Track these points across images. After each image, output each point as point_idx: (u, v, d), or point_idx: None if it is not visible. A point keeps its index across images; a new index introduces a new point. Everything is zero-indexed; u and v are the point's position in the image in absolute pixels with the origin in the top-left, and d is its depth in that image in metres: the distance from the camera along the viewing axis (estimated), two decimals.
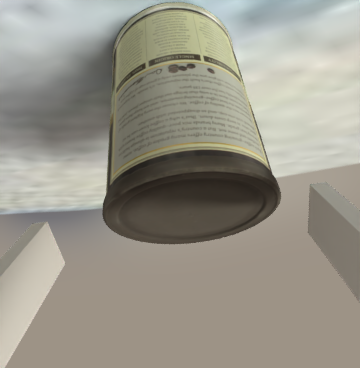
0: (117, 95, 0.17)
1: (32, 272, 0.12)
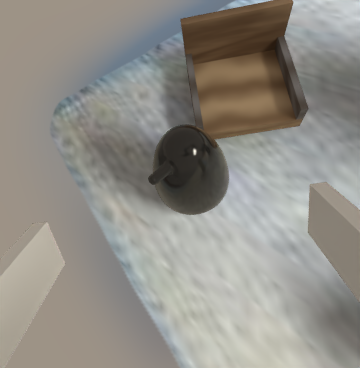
0: None
1: (32, 272, 0.12)
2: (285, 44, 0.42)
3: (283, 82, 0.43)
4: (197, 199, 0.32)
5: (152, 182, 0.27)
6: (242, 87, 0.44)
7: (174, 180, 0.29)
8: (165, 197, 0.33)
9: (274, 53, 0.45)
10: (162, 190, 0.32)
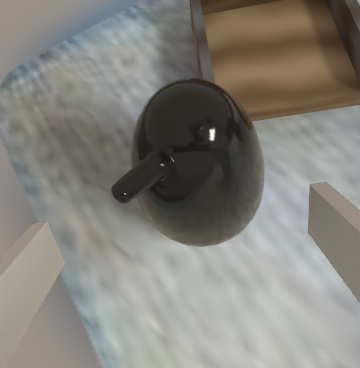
0: None
1: (32, 272, 0.12)
2: None
3: (339, 38, 0.28)
4: (212, 226, 0.17)
5: (119, 198, 0.12)
6: (275, 45, 0.29)
7: (169, 192, 0.14)
8: (153, 219, 0.19)
9: None
10: (147, 207, 0.18)
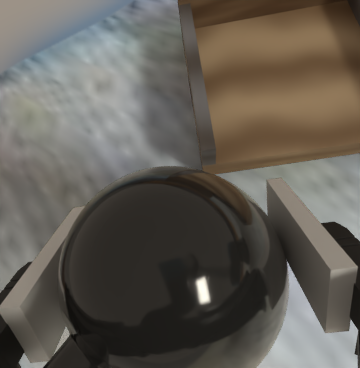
0: None
1: None
2: None
3: None
4: None
5: None
6: (290, 68, 0.22)
7: None
8: None
9: (346, 6, 0.24)
10: None
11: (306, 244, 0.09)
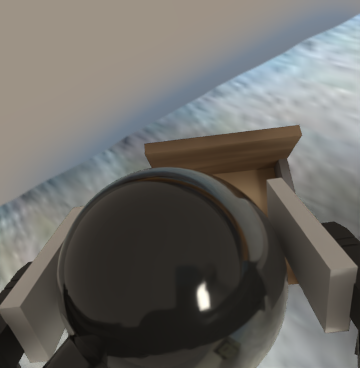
0: None
1: None
2: (288, 172, 0.31)
3: None
4: None
5: None
6: None
7: None
8: None
9: (272, 173, 0.34)
10: None
11: (306, 244, 0.09)
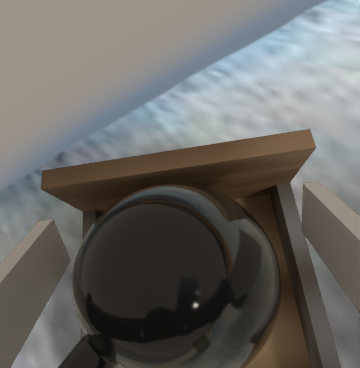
0: None
1: (39, 268, 0.12)
2: (293, 205, 0.19)
3: (289, 283, 0.20)
4: None
5: None
6: None
7: None
8: None
9: (269, 203, 0.22)
10: None
11: None
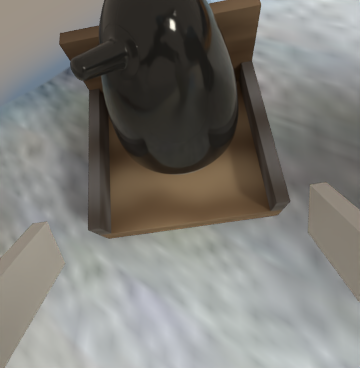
0: None
1: (32, 272, 0.12)
2: (253, 75, 0.25)
3: (251, 139, 0.25)
4: (183, 135, 0.17)
5: (78, 71, 0.12)
6: None
7: (134, 84, 0.14)
8: (126, 137, 0.18)
9: (238, 87, 0.28)
10: (118, 121, 0.17)
11: None
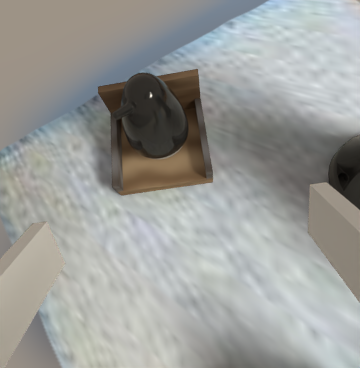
0: None
1: (32, 272, 0.12)
2: (200, 106, 0.46)
3: (199, 141, 0.46)
4: (157, 139, 0.38)
5: (115, 116, 0.33)
6: None
7: (135, 119, 0.35)
8: (132, 140, 0.39)
9: (194, 111, 0.48)
10: (128, 132, 0.38)
11: None
